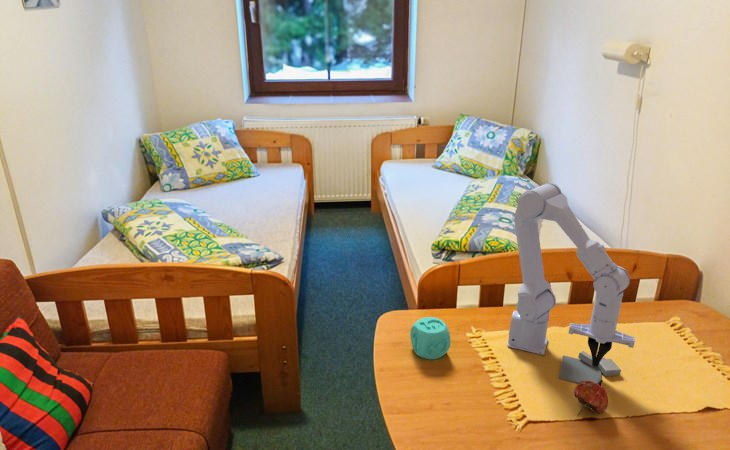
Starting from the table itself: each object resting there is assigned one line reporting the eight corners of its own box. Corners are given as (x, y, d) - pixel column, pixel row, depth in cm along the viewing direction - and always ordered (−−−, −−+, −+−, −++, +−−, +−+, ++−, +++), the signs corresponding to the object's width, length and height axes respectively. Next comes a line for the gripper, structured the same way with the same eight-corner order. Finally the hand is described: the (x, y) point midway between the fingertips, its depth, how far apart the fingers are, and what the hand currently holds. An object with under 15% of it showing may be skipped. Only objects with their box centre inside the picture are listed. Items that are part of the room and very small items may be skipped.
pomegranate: (595, 432, 123) (624, 398, 124) (582, 415, 119) (611, 381, 120) (570, 413, 129) (598, 382, 130) (557, 397, 126) (585, 365, 127)
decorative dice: (409, 344, 149) (410, 319, 146) (436, 339, 151) (438, 314, 148) (421, 362, 142) (422, 335, 139) (449, 356, 144) (451, 330, 141)
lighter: (619, 375, 138) (601, 354, 145) (621, 369, 137) (603, 349, 144) (593, 376, 136) (576, 356, 143) (595, 371, 135) (578, 350, 143)
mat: (558, 378, 136) (558, 377, 136) (562, 356, 145) (562, 355, 144) (599, 388, 133) (600, 387, 133) (601, 365, 141) (601, 364, 141)
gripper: (571, 317, 130) (562, 365, 136) (638, 332, 125) (627, 381, 130) (573, 303, 136) (565, 349, 141) (638, 316, 131) (627, 364, 136)
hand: (595, 363), depth 136 cm, fingers closed
